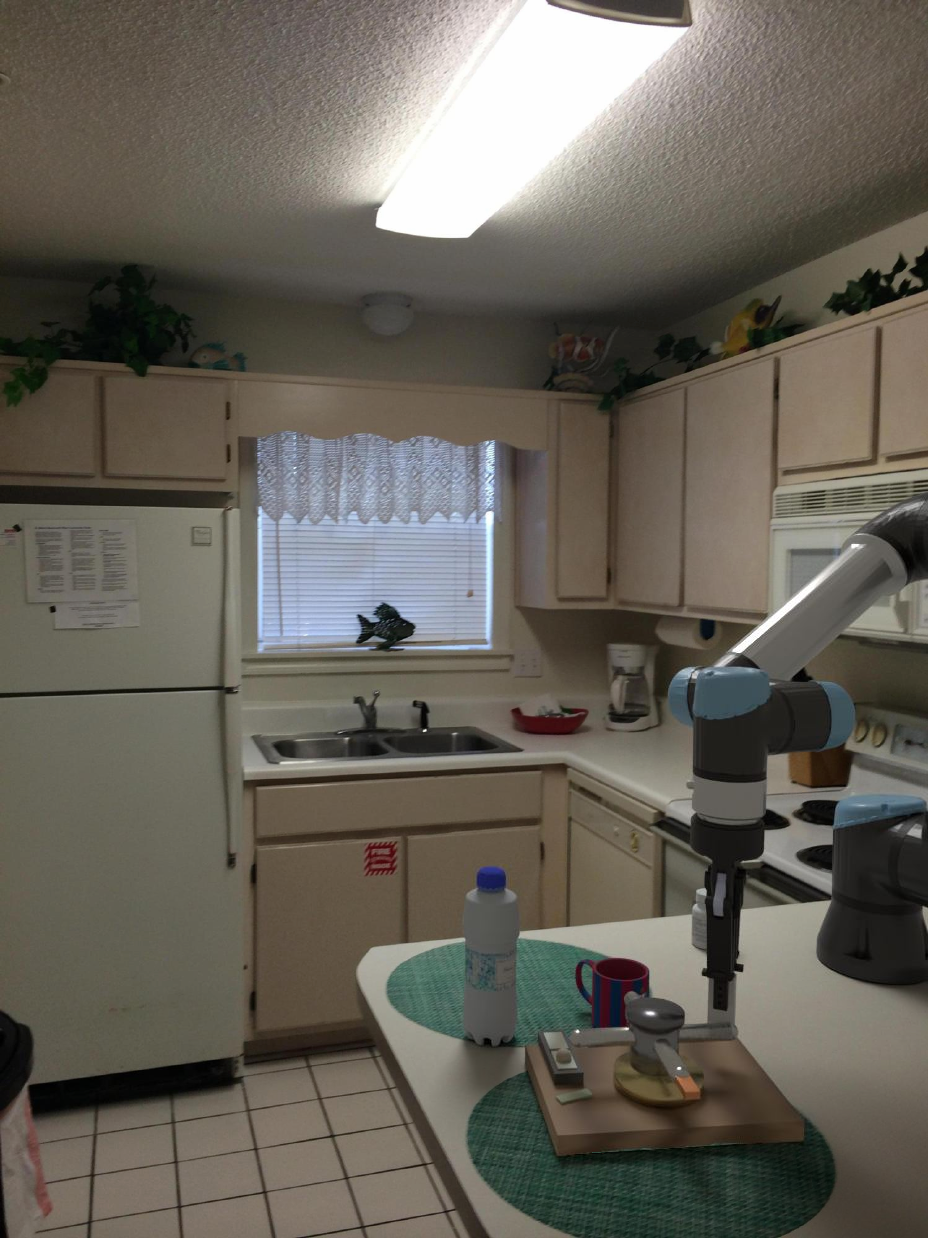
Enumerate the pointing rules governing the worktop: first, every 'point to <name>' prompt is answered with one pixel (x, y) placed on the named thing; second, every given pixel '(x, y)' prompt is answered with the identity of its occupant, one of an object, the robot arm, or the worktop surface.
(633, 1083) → the capstan
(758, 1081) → the stand
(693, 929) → the pill bottle
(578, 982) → the mug
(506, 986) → the bottle
